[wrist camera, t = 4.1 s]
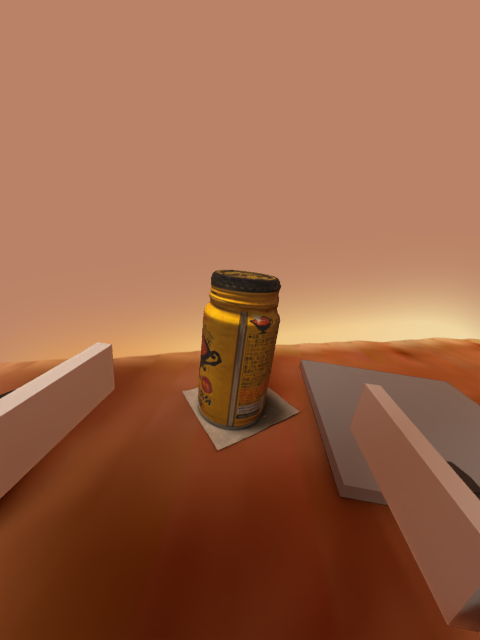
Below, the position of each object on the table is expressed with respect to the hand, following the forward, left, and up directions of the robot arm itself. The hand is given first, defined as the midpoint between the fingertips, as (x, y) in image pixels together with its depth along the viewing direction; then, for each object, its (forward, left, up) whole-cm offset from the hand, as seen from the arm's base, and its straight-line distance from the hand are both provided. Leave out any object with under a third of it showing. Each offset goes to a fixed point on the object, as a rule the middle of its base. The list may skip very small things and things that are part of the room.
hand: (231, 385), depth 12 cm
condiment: (0, -7, -7) cm, 10 cm away
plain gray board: (-16, -8, -7) cm, 20 cm away
